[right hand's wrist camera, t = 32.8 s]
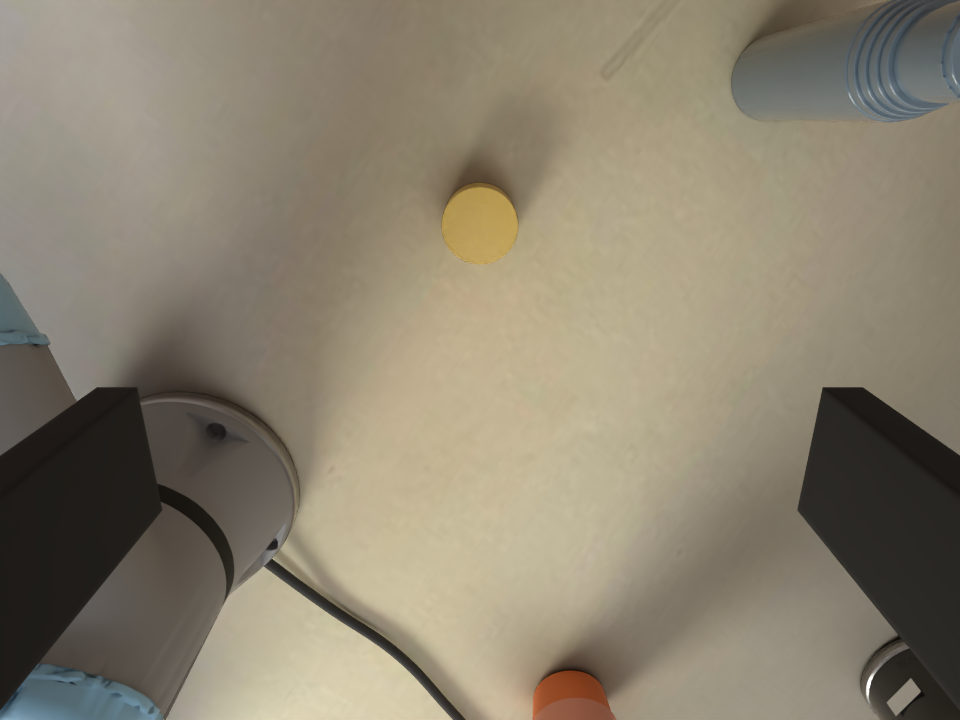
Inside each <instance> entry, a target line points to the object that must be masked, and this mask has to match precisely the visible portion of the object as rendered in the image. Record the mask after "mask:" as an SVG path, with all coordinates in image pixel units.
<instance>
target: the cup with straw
mask: <svg viewBox="0 0 960 720" xmlns="http://www.w3.org/2000/svg"><path fill="white" fill-rule="evenodd" d="M533 720H616V718H615V716H614V715H613V713H612V712H611V710H610V707H609V704H608V701H607V698H606V695H605V692H604V689H603V687H602V685H601V684H600V683H599V681H598V680H597V679H595V678H594V677H592V676H591V675H589V674H586V673H584V672H580V671H561V672H557V673H554V674H552V675H550V676H548V677H547V678H545V679H544V680H543V681H542V682H541V683H540V684H539V685H538V686H537V688H536V690H535V693H534V697H533Z"/></svg>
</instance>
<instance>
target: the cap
mask: <svg viewBox="0 0 960 720" xmlns="http://www.w3.org/2000/svg"><path fill="white" fill-rule="evenodd" d="M517 232H518V219H517V214H516V211H515V209H514V206H513V204H512V202H511V200H510V199H509V197H508V196H507V195H506V194H505V193H504V192H503V191H502V190H501V189H499V188H498V187H496V186H494V185H491V184H487V183H473V184H469V185H466V186H464V187H462V188H460V189H459V190H458V191H456V192H455V193H454V194H453V196H452V197H451V198H450V200H449V201H448V203H447V206H446V208H445V211H444V214H443V217H442V234H443V238H444V240H445V242H446V244H447V246H448V248H449V249H450V250H451V251H452V252H453V254H455V255H456V256H457V257H458V258H460V259H462V260H464V261H466V262H469V263H473V264H487V263H491V262H494V261H496V260H498V259H500V258H501V257H503V256H504V255H505V254H506V253H507V252H508V251H509V250H510V249H511V247H512V246H513V244H514V242H515V240H516V237H517Z"/></svg>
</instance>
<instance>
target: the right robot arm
mask: <svg viewBox="0 0 960 720" xmlns="http://www.w3.org/2000/svg"><path fill="white" fill-rule="evenodd" d="M47 345H50V342H49V340H48V338H47V336H46V335H45V334H42V333H40V332H39V331H38V329H37V327H36V326H35V324H34V323H33V321H32V320H31V318H30V316H29V315H28V313H27V312H26V310H25V309H24V307H23V305H22V304H21V302H20V301H19V299H18V298H17V296H16V294H15V293H14V291H13V289H12V287H11V286H10V284H9V283H8V281H7V280H6V279H5V278H4V277H3V276H2V275H1V274H0V720H166V718H167V716H168V714H169V712H170V710H171V708H172V706H173V704H174V702H175V700H176V698H177V696H178V694H179V692H180V690H181V688H182V686H183V684H184V682H185V680H186V678H187V676H188V674H189V672H190V670H191V668H192V666H193V664H194V662H195V660H196V658H197V656H198V654H199V652H200V650H201V648H202V646H203V644H204V642H205V640H206V638H207V636H208V634H209V632H210V630H211V628H212V626H213V624H214V622H215V620H216V618H217V616H218V614H219V612H220V610H221V608H222V606H223V604H224V602H225V600H226V598H227V597H228V595H230V594H231V593H232V592H233V591H234V590H236V589H237V588H238V587H239V586H240V585H242V584H243V583H244V582H245V581H246V580H248V579H249V578H250V577H251V576H252V575H254V574H255V573H256V572H257V571H258V570H260V569H261V568H262V567H263V566H264V567H265V568H267V569H268V570H270V571H271V572H272V573H274V574H275V575H276V576H278V577H279V578H280V579H282V580H283V581H284V582H286V583H287V584H288V585H290V586H291V587H293V588H294V589H295V590H297V591H298V592H299V593H301V594H302V595H304V596H305V597H306V598H308V599H309V600H311V601H312V602H313V603H315V604H316V605H318V606H319V607H320V608H322V609H323V610H325V611H326V612H328V613H329V614H330V615H332V616H333V617H335V618H336V619H338V620H339V621H341V622H343V623H344V624H346V625H347V626H349V627H350V628H352V629H354V630H355V631H357V632H358V633H360V634H362V635H363V636H365V637H366V638H368V639H369V640H371V641H372V642H374V643H375V644H377V645H378V646H379V647H381V648H382V649H383V650H385V651H386V652H387V653H389V654H390V655H391V656H392V657H394V658H395V659H396V660H397V661H398V662H399V663H401V664H402V665H403V666H404V667H405V668H406V669H407V670H408V671H409V672H410V673H411V674H412V675H413V676H414V677H415V678H416V679H417V680H418V681H419V682H420V683H421V684H422V685H423V687H424V688H425V689H426V690H427V691H428V692H429V693H430V695H431V696H432V697H433V698H434V699H435V700H436V701H437V703H438V704H439V705H440V706H441V707H442V708H443V709H444V710H445V711H446V713H447V714H448V715H449V716H450V717H451V718H452V719H453V720H465V719H464V717H463V716H462V715H461V714H460V713H459V712H458V711H457V710H456V709H455V707H454V706H453V705H452V704H451V703H450V702H449V701H448V700H447V699H446V697H445V696H444V695H443V694H442V693H441V692H440V691H439V689H438V688H437V687H436V686H435V685H434V684H433V682H432V681H431V680H430V679H429V678H428V677H427V676H426V675H425V673H424V672H423V671H422V670H421V669H420V668H419V667H418V666H417V665H416V664H415V663H414V662H413V661H412V660H411V659H410V658H409V657H407V656H406V655H405V654H404V653H403V652H402V651H401V650H399V649H398V648H397V647H396V646H394V645H393V644H392V643H391V642H389V641H388V640H387V639H385V638H384V637H382V636H381V635H380V634H378V633H377V632H375V631H374V630H372V629H371V628H369V627H368V626H366V625H365V624H363V623H361V622H360V621H358V620H357V619H355V618H353V617H352V616H350V615H349V614H347V613H346V612H344V611H343V610H341V609H340V608H338V607H337V606H335V605H334V604H332V603H331V602H330V601H328V600H327V599H325V598H324V597H323V596H321V595H320V594H318V593H317V592H316V591H314V590H313V589H312V588H310V587H309V586H308V585H306V584H305V583H303V582H302V581H301V580H299V579H298V578H297V577H295V576H294V575H293V574H291V573H290V572H289V571H287V570H286V569H285V568H283V567H282V566H281V565H279V564H278V563H277V562H275V561H274V560H273V559H272V558H273V556H274V555H275V554H276V553H277V552H278V551H279V549H280V548H281V547H282V545H283V544H284V542H285V540H286V538H287V536H288V534H289V532H290V530H291V527H292V525H293V523H294V521H295V518H296V515H297V511H298V506H299V497H300V495H299V483H298V477H297V474H296V470H295V467H294V465H293V462H292V460H291V458H290V456H289V454H288V452H287V450H286V449H285V447H284V446H283V444H282V443H281V442H280V440H279V439H278V438H277V436H276V435H275V434H274V433H273V432H272V431H271V430H270V429H269V428H268V427H267V426H266V425H265V424H264V423H262V422H261V421H260V420H259V419H257V418H256V417H255V416H253V415H252V414H250V413H249V412H247V411H246V410H244V409H242V408H240V407H238V406H236V405H234V404H232V403H230V402H227V401H225V400H222V399H219V398H216V397H212V396H208V395H204V394H198V393H189V392H170V393H161V394H157V395H152V396H149V397H146V398H143V399H139V394H138V389H137V387H97V388H96V389H94V390H93V391H91V392H90V393H89V394H87V395H86V396H84V397H83V398H81V399H80V400H79V401H76V400H75V398H74V396H73V394H72V392H71V390H70V388H69V386H68V384H67V382H66V380H65V379H64V377H63V375H62V373H61V371H60V369H59V367H58V365H57V363H56V361H55V359H54V357H53V355H52V353H51V351H50V350H49V348H48V346H47ZM798 511H799V513H800V514H801V515H802V516H803V518H804V519H805V520H806V521H807V523H808V524H809V525H810V526H811V528H812V529H813V530H814V531H815V532H816V534H817V535H818V536H819V537H820V539H821V540H822V541H823V542H824V544H825V545H826V546H827V547H828V548H829V550H830V551H831V552H832V553H833V555H834V556H835V557H836V558H837V560H838V561H839V562H840V563H841V565H842V566H843V567H844V568H845V569H846V571H847V572H848V573H849V574H850V576H851V577H852V578H853V579H854V581H855V582H856V583H857V584H858V586H859V587H860V588H861V589H862V590H863V592H864V593H865V594H866V595H867V597H868V598H869V599H870V600H871V602H872V603H873V604H874V605H875V607H876V608H877V609H878V610H879V611H880V613H881V614H882V615H883V616H884V618H885V619H886V620H887V621H888V623H889V624H890V625H891V626H892V628H893V629H894V630H895V631H896V632H897V634H898V635H899V636H900V637H901V639H902V640H903V641H904V642H905V644H906V645H907V646H908V647H909V649H910V650H911V651H912V652H913V653H914V655H915V656H916V657H917V658H918V660H919V661H920V662H921V663H922V665H923V666H924V667H925V668H926V670H927V671H928V672H929V673H930V674H931V676H932V677H933V678H934V679H935V681H936V682H937V683H938V684H939V686H940V687H941V688H942V689H943V690H944V692H945V693H946V694H947V695H948V697H949V698H950V699H951V700H952V702H953V703H954V704H955V705H956V707H957V708H958V709H959V710H960V455H958V454H957V453H955V452H954V451H952V450H951V449H950V448H948V447H947V446H945V445H944V444H943V443H941V442H940V441H938V440H937V439H935V438H934V437H933V436H931V435H930V434H928V433H927V432H925V431H924V430H923V429H921V428H920V427H918V426H917V425H915V424H914V423H913V422H911V421H910V420H908V419H907V418H906V417H904V416H903V415H901V414H900V413H898V412H897V411H896V410H894V409H893V408H891V407H890V406H888V405H887V404H886V403H884V402H883V401H881V400H880V399H879V398H877V397H876V396H874V395H873V394H871V393H870V392H869V391H867V390H866V389H864V388H863V387H823V389H822V394H821V399H820V404H819V408H818V413H817V418H816V423H815V428H814V433H813V437H812V442H811V447H810V452H809V457H808V462H807V466H806V471H805V476H804V481H803V486H802V491H801V495H800V500H799V505H798Z"/></svg>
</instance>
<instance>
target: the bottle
mask: <svg viewBox="0 0 960 720" xmlns="http://www.w3.org/2000/svg"><path fill="white" fill-rule="evenodd" d="M731 85H732V93H733V97H734V100H735V102H736V104H737V106H738V107H739V109H740V110H741V111H742V112H743V113H744V114H746V115H747V116H749V117H750V118H753V119H755V120H760V121H807V122H899V121H904V120H909V119H914V118H917V117H919V116H922V115H924V114H926V113H929V112H931V111H934V110H936V109H939V108H941V107H943V106H946V105H948V104H950V103H960V0H887V1H883V2H880V3H876V4H873V5H869V6H866V7H863V8H859V9H856V10H852V11H849V12H845V13H842V14H838V15H835V16H831V17H828V18H825V19H821V20H818V21H814V22H811V23H807V24H804V25H800V26H797V27H793V28H790V29H787V30H783V31H780V32H776V33H773V34H769V35H766V36H763V37H761V38H759V39H757V40H756V41H754V42H753V43H752V44H750V45H749V46H748V47H747V48H746V49H745V50H744V51H743V53H742V54H741V56H740V57H739V59H738V61H737V63H736V65H735V67H734V71H733V75H732V84H731Z"/></svg>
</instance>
